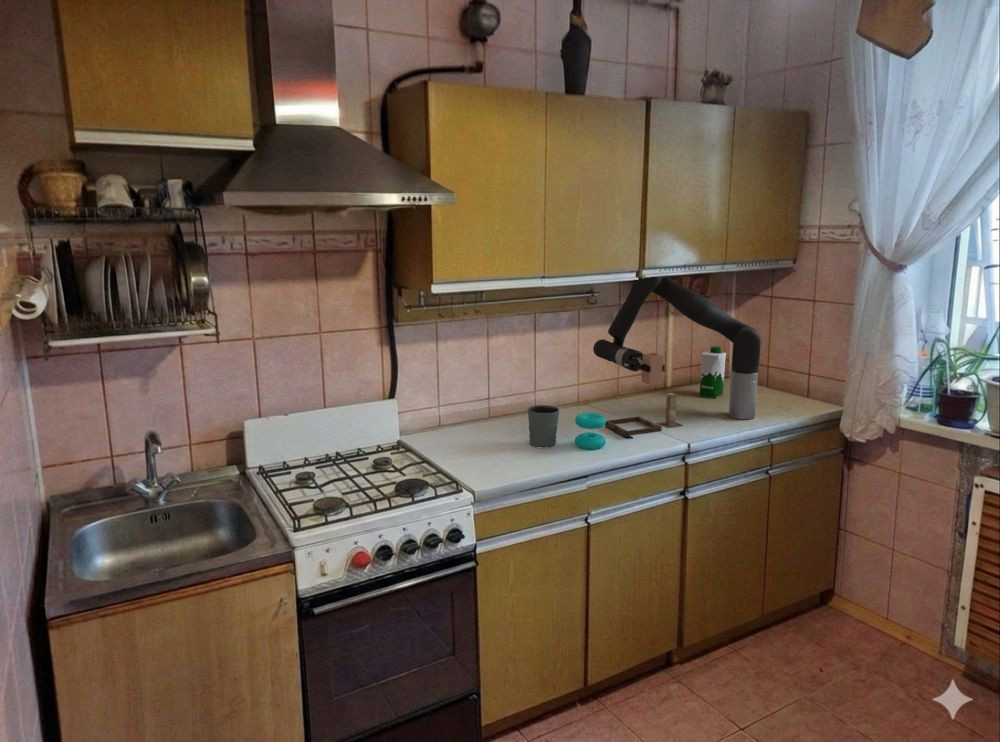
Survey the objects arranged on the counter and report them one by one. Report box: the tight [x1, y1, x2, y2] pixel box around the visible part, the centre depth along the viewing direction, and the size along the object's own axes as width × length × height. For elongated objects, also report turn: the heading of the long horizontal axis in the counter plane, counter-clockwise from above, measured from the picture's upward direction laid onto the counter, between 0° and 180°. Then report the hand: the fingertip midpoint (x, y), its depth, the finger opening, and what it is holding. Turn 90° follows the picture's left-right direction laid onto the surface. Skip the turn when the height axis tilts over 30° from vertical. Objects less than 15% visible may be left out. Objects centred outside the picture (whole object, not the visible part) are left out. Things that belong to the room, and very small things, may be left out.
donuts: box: [574, 412, 607, 450], centre depth 226 cm, size 10×10×10 cm
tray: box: [604, 416, 663, 440], centre depth 242 cm, size 14×14×2 cm
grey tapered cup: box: [527, 404, 560, 448], centre depth 228 cm, size 10×10×12 cm
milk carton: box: [699, 346, 727, 399], centre depth 285 cm, size 9×9×20 cm
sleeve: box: [640, 352, 664, 386], centre depth 240 cm, size 5×5×10 cm
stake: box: [656, 392, 685, 429], centre depth 245 cm, size 7×7×12 cm
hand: (656, 368), depth 237 cm, fingers closed on sleeve, 5 cm apart
